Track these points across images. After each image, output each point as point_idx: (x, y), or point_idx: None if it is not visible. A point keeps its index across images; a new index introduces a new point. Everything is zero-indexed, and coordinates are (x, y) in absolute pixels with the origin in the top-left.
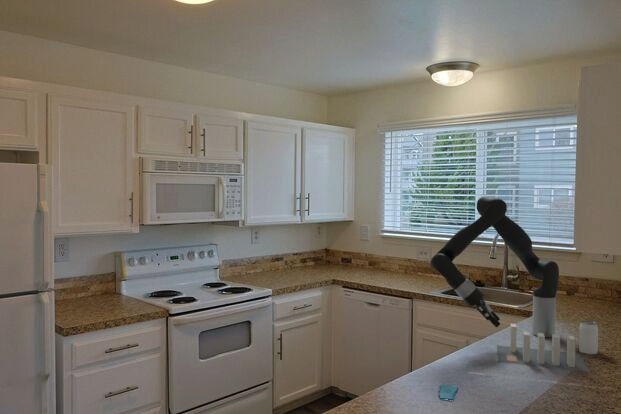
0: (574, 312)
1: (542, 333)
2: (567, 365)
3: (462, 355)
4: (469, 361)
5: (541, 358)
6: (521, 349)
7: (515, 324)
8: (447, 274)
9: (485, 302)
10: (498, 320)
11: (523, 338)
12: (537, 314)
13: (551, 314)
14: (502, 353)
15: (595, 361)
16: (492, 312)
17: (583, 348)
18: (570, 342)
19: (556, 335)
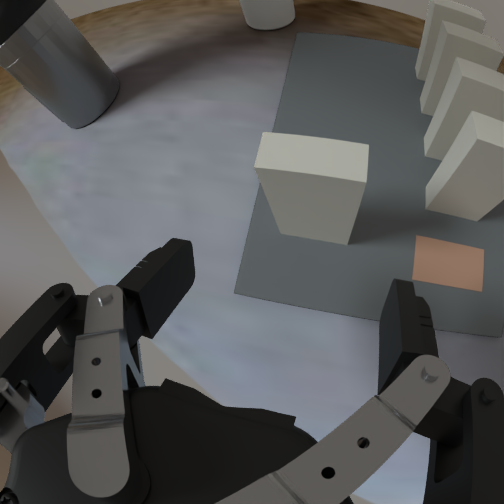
0: (6, 76)
1: (464, 62)
2: None
3: (405, 481)
4: None
5: None
6: None
7: (280, 137)
8: None
9: (117, 483)
10: (192, 256)
11: (489, 167)
12: (56, 71)
13: (80, 34)
14: (383, 294)
15: (355, 21)
16: (134, 304)
17: (285, 14)
18: (481, 28)
19: (463, 31)
